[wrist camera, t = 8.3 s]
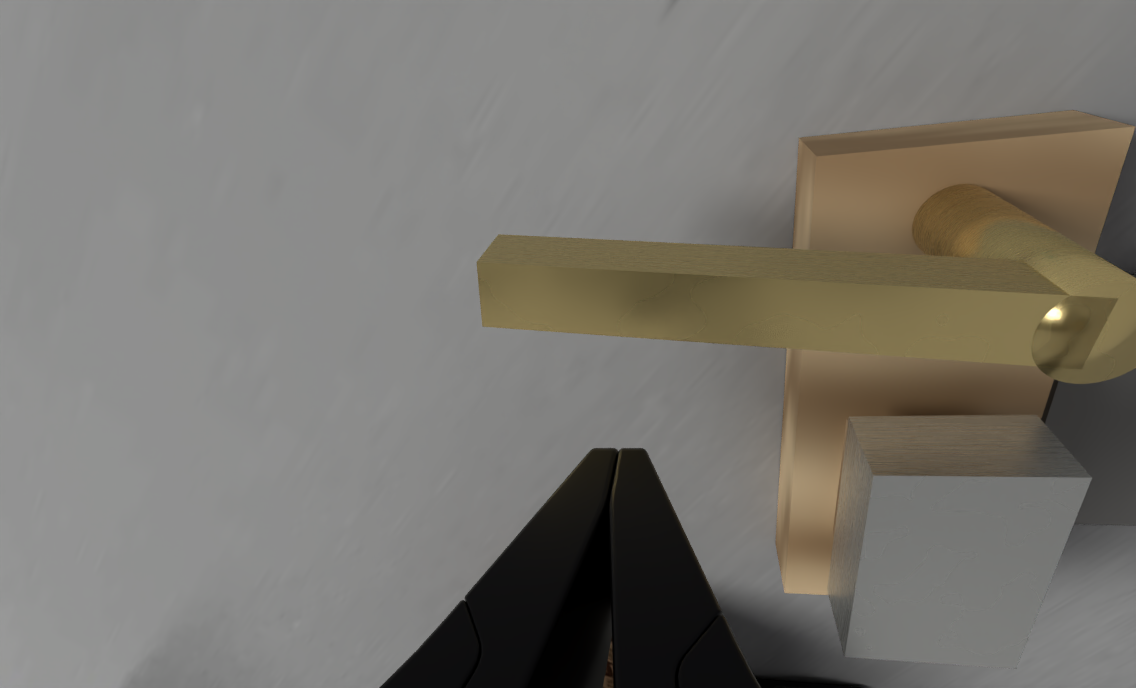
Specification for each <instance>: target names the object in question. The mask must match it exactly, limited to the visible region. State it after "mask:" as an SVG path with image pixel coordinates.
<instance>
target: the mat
mask: <svg viewBox="0 0 1136 688" xmlns="http://www.w3.org/2000/svg"><path fill="white" fill-rule="evenodd" d="M1131 276H1133V277H1135V278H1136V275H1131ZM1041 420H1042V421H1043V422H1044V424H1045V425H1046V426H1047V427H1048V428H1049V429H1050V430H1051V432H1052V433H1053V434H1054V435H1055V436H1056V437H1057V438H1058V439H1059V441H1060V442H1061V443H1062V444H1063V445H1064V446H1065V447H1066V449H1067V450H1068V451H1069V452H1070V453H1071V454H1072V455H1073V457H1074V458H1075V459H1076V460H1077V461H1078V462H1079V463H1080V464H1081V466H1082V467H1083V468H1084V469H1085V470H1086V471H1087V472H1088V474H1089V475H1090V476H1091V477H1092V479H1091V482H1090V484H1089V487H1088V489H1087V492H1086V495H1085V497H1084V500H1083V502H1082V505H1081V507H1080V510H1079V512H1078V515H1077V517H1076V520H1075V522H1074V524H1093V525H1134V526H1136V368H1135V369H1133V370H1131V371H1129V372H1127V373H1125V374H1123V375H1121V376H1118V377H1116V378H1113V379H1110V380H1106V381H1102V382H1096V383H1089V384H1073V383H1066V382H1061V381H1058V380H1055V379H1054V381H1053V384H1052V387H1051V390H1050V393H1049V396H1048V400H1047V403H1046V406H1045V409H1044V412H1043V415H1042V418H1041Z"/></svg>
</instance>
